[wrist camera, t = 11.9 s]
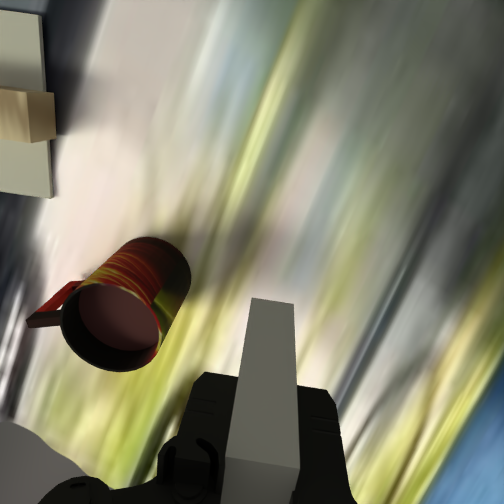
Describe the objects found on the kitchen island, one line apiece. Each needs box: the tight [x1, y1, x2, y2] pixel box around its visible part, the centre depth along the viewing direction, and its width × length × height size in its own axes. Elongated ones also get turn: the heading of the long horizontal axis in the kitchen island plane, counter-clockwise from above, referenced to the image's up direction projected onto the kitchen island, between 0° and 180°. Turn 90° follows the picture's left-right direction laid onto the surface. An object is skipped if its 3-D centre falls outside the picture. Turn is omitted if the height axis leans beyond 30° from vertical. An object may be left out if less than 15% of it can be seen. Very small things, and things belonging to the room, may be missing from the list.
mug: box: [26, 237, 191, 372], centre depth 42 cm, size 10×14×12 cm
